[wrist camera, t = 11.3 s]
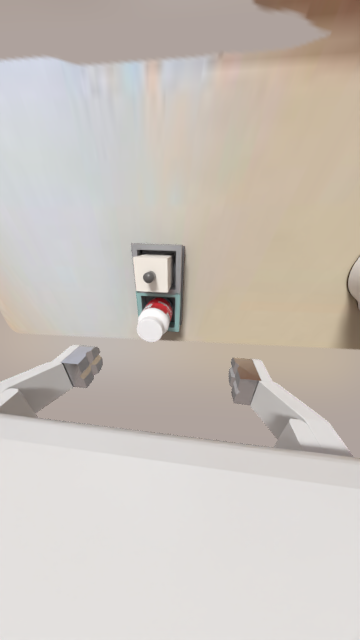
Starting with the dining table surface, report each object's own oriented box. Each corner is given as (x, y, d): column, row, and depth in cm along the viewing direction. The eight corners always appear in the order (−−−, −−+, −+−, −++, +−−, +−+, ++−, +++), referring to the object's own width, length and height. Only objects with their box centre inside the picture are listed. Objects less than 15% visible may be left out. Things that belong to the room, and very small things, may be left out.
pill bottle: (178, 312, 37) (173, 337, 28) (158, 323, 39) (146, 350, 29) (163, 290, 35) (152, 309, 25) (143, 303, 37) (125, 325, 27)
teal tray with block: (184, 244, 33) (180, 246, 22) (181, 322, 41) (177, 350, 30) (137, 243, 33) (111, 243, 22) (144, 319, 41) (127, 347, 31)
